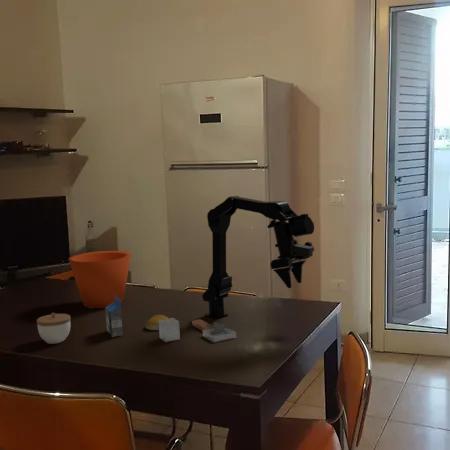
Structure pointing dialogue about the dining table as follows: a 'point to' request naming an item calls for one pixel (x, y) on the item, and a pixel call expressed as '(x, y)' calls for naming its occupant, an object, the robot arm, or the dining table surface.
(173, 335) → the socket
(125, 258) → the flowerpot
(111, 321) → the grey and blue box
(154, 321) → the bread roll
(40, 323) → the lidded jar
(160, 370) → the dining table surface
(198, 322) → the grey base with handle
